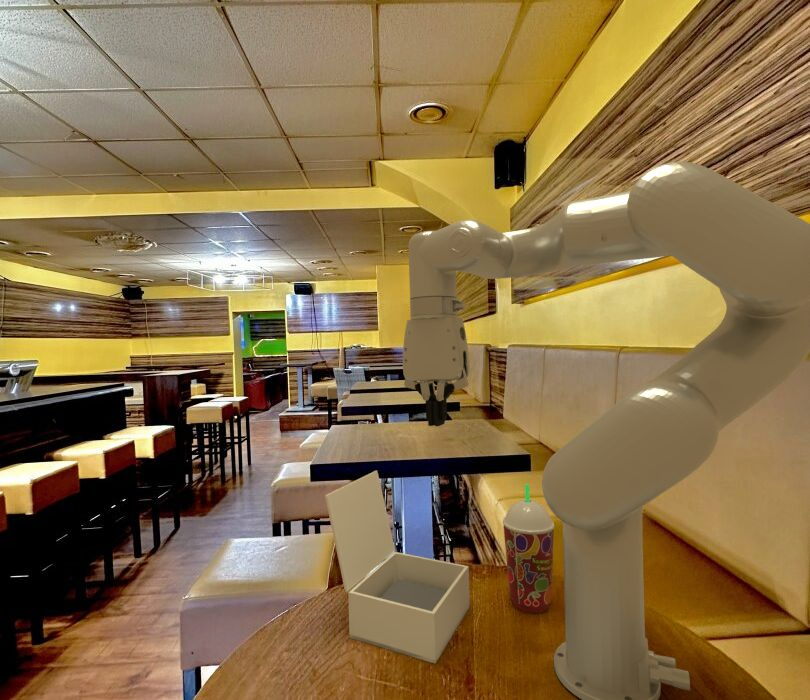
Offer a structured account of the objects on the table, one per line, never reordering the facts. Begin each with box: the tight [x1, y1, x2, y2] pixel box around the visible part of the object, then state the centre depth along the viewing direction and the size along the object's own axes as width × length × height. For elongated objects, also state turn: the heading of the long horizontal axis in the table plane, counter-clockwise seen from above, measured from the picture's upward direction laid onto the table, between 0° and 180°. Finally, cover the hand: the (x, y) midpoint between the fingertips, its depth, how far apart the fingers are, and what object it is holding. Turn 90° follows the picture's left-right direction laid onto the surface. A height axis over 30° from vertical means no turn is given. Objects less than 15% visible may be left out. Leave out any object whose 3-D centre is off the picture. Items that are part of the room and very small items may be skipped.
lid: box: [324, 470, 396, 593], centre depth 75 cm, size 14×16×1 cm
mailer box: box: [347, 551, 471, 664], centre depth 71 cm, size 14×15×7 cm
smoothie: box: [502, 483, 555, 614], centre depth 75 cm, size 8×8×20 cm
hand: (436, 424), depth 72 cm, fingers closed
